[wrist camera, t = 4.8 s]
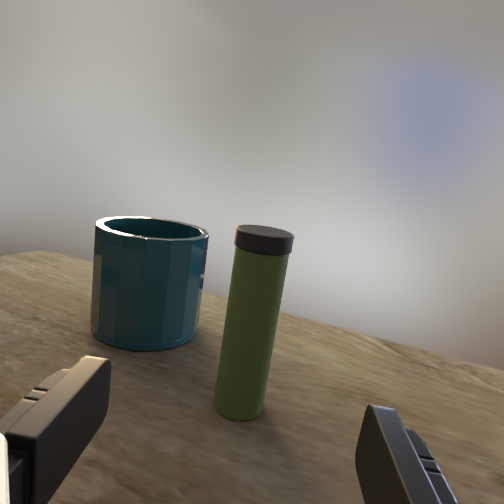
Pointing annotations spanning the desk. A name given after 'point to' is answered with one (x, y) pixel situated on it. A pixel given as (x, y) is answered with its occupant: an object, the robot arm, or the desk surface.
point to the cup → (147, 282)
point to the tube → (251, 319)
